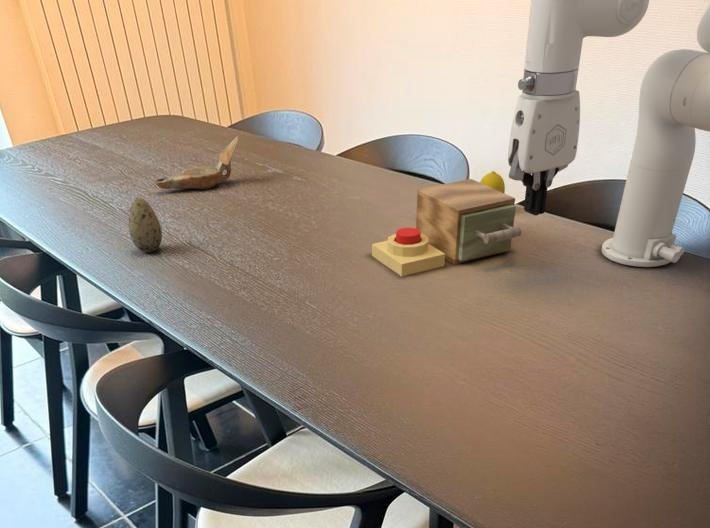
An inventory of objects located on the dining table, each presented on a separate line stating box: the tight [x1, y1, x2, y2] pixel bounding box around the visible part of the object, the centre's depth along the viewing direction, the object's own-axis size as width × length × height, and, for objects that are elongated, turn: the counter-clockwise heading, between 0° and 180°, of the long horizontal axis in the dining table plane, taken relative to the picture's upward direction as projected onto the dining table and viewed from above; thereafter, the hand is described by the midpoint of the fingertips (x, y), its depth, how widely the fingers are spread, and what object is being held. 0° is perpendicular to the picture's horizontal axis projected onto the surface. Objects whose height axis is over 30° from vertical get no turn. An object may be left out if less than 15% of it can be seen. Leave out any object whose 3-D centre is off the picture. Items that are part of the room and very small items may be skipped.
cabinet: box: [415, 178, 516, 265], centre depth 125 cm, size 14×12×10 cm
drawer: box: [458, 204, 522, 261], centre depth 122 cm, size 17×11×8 cm, turn 27°
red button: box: [395, 227, 421, 245], centre depth 121 cm, size 4×4×2 cm
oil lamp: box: [154, 135, 239, 190], centre depth 158 cm, size 9×21×10 cm, turn 114°
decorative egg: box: [128, 197, 163, 253], centre depth 128 cm, size 6×6×10 cm
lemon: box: [479, 170, 506, 194], centre depth 140 cm, size 6×6×8 cm
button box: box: [371, 233, 446, 277], centre depth 122 cm, size 11×9×4 cm
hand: (533, 211), depth 109 cm, fingers closed
